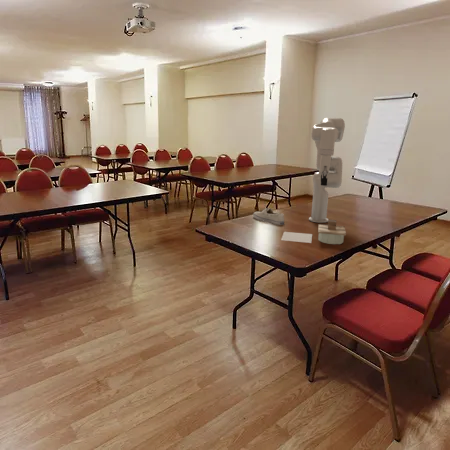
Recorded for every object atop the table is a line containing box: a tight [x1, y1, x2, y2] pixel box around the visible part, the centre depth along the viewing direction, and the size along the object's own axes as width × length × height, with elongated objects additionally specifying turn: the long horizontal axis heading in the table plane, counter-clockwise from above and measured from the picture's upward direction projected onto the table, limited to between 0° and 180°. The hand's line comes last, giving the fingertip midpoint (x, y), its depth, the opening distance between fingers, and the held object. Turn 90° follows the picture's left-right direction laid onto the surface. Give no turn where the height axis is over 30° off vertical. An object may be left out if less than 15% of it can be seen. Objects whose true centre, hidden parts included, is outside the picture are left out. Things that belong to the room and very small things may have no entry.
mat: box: [280, 231, 313, 244], centre depth 205 cm, size 16×16×1 cm
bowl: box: [318, 233, 345, 245], centre depth 200 cm, size 13×13×6 cm
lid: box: [317, 219, 347, 236], centre depth 199 cm, size 14×14×6 cm
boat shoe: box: [252, 207, 285, 226], centre depth 239 cm, size 25×9×9 cm, turn 37°
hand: (323, 183), depth 204 cm, fingers open, 9 cm apart
